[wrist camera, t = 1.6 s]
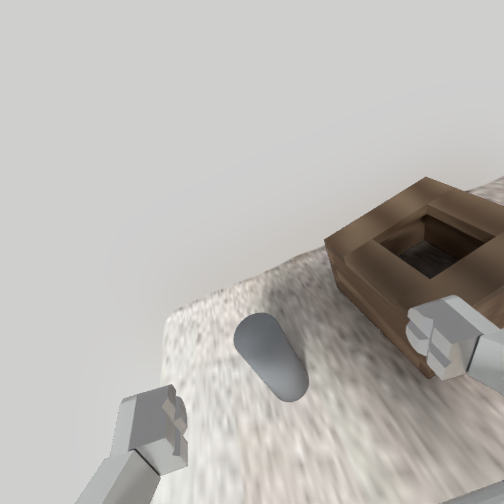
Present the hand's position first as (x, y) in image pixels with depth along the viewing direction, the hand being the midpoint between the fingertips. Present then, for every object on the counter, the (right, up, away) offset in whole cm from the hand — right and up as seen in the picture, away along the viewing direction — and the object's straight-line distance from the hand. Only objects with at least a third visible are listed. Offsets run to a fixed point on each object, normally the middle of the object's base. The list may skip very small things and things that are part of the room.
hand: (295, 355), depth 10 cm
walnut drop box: (+21, -2, +28) cm, 35 cm away
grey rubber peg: (+3, -13, +26) cm, 29 cm away
